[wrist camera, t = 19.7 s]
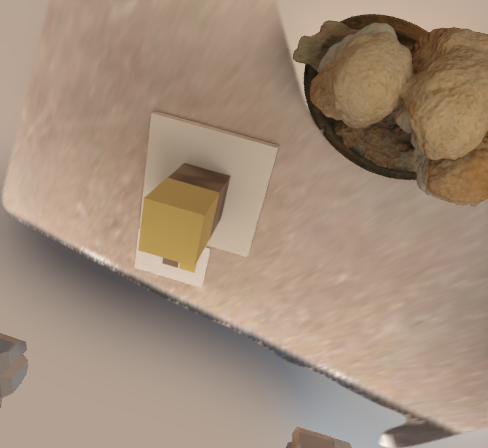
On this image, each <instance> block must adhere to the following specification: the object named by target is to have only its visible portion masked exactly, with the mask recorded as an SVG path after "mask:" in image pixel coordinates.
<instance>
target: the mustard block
mask: <svg viewBox="0 0 488 448" xmlns="http://www.w3.org/2000/svg"><path fill="white" fill-rule="evenodd" d="M218 197H219V192H216V191H212V190H209V189H205V188H202V187H198V186H195V185H191V184H188V183H184V182H181V181H177V180H174V179H171V178H166V179H165V180H164V181H162V182H161V183H160V184H159V185H158V186H157V187H156V188H155V189H153V190H152V191H151V192H150V193H149V194H148V195H147V196H146V197H144V203H143V212H142V221H141V230H140V239H139V248H138V250H139V251H143V252H146V253H149V254H153V255H156V256H159V257H163V258H166V259H169V260H173V261H176V262H179V263H183V264H186V265H189V266H193V267H195V265H196V263H197V261H198V259H199V257H200V256H201V254H202V252H203V250H204V248H205V246H206V244H207V243H208V241H209V239H210V234H211V230H212V225H213V220H214V216H215V211H216V207H217V202H218Z"/></svg>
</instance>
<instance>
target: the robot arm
mask: <svg viewBox="0 0 488 448" xmlns="http://www.w3.org/2000/svg"><path fill="white" fill-rule="evenodd" d="M26 350H27V347H26V342H25V341H22V340H19V339H16V338H13V337H10V336H7V335H4V334H1V333H0V407H1V403H2V398H3V397H5V396H7V395H10V394H11V393H13V392H14V391H15V390H16V389H17V388H18V386H19V385H20V384H21V382H22V380H23V379H24V377H25V375H26V373H27V368H28V360H27V359H26V357H25V356H24V355H23V353H24V352H25V351H26ZM286 448H352V447H351V445H350V443H348V442H345V441H341V440H338V439H334V438H331V437H330V436H327V435H323V434H320V433H317V432H313V431H310V430H306V429H303V428H300V427H297V428H295V430H294V432H293V434H292V442H289V443H288V444H287V447H286Z"/></svg>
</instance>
